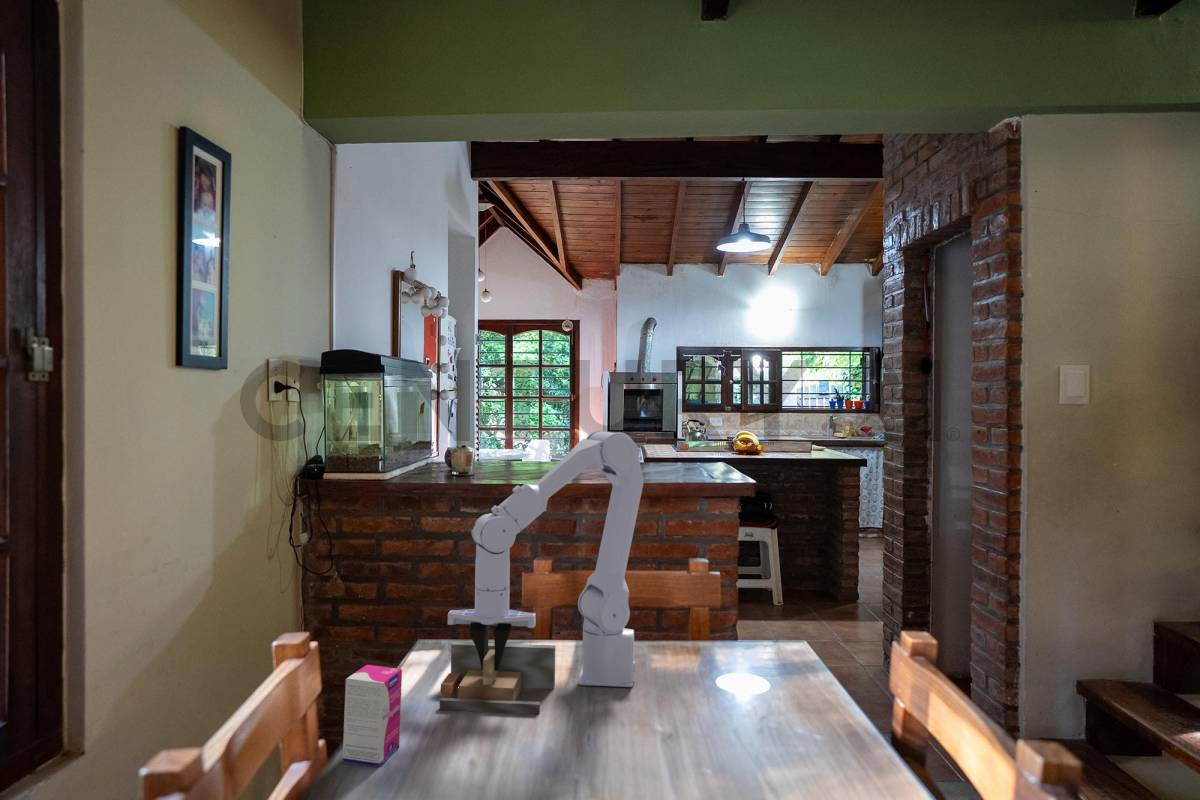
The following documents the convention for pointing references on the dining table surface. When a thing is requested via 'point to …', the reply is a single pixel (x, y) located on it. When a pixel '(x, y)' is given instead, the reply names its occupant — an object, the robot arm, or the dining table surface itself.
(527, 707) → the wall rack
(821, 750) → the dining table surface
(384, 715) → the supplement box
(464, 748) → the dining table surface
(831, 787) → the dining table surface
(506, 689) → the tan box with handle
